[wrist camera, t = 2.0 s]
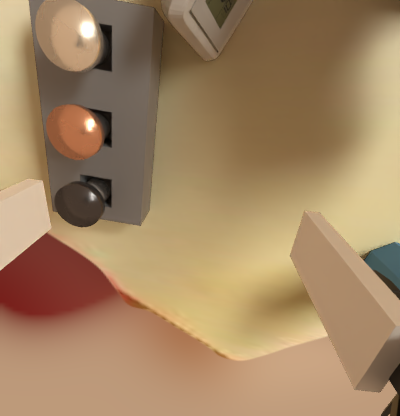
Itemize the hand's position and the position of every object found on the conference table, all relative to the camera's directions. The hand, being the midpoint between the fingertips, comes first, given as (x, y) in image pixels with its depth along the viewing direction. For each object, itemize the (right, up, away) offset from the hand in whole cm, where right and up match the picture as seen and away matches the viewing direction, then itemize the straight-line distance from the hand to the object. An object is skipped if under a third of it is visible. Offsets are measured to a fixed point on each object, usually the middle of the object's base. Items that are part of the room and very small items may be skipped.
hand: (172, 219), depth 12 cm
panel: (-10, +12, +20) cm, 25 cm away
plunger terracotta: (-11, +10, +15) cm, 21 cm away
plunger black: (-12, +3, +19) cm, 22 cm away
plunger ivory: (-9, +17, +12) cm, 23 cm away
